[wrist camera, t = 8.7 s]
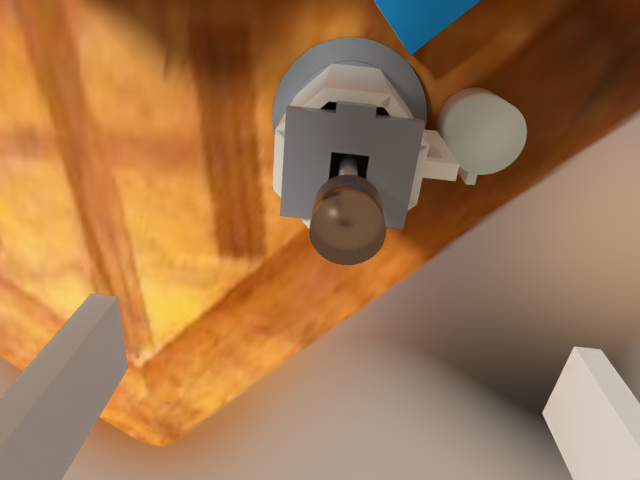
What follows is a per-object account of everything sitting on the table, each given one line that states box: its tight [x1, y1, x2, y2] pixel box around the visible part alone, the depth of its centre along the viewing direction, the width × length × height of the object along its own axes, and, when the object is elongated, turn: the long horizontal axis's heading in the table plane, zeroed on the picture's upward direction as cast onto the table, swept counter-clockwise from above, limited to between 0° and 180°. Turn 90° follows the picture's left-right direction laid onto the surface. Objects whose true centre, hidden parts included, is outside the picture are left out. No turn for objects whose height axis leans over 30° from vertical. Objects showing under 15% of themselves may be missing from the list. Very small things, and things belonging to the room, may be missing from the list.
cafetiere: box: [273, 61, 460, 229], centre depth 35 cm, size 10×13×14 cm
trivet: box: [273, 37, 427, 134], centre depth 41 cm, size 14×14×1 cm
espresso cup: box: [437, 87, 527, 185], centre depth 39 cm, size 7×6×6 cm
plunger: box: [309, 153, 386, 265], centre depth 28 cm, size 4×4×16 cm
